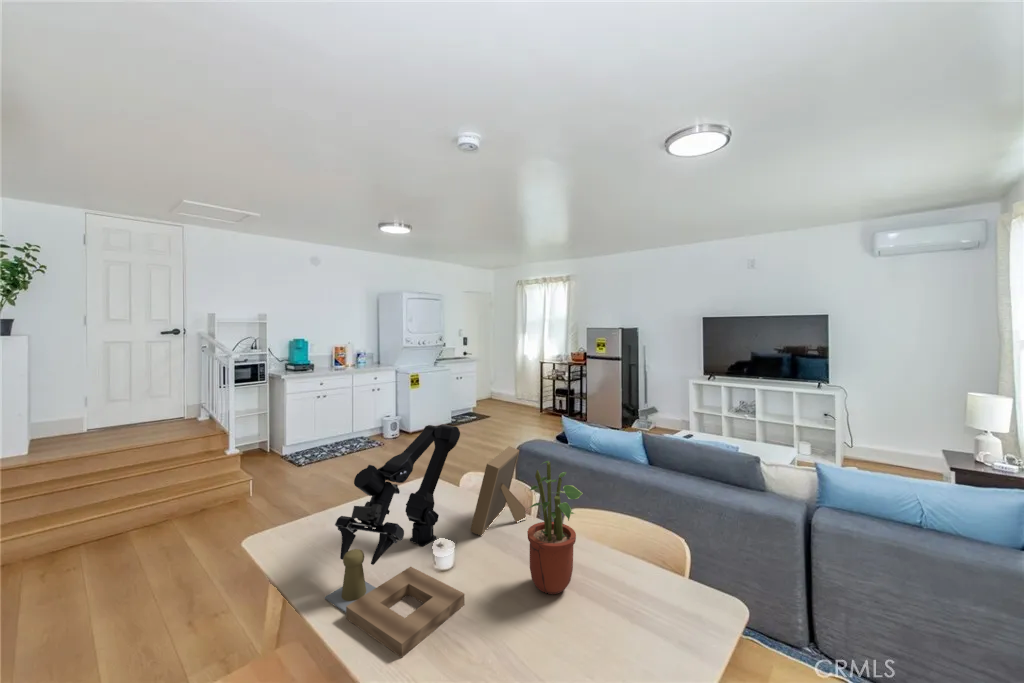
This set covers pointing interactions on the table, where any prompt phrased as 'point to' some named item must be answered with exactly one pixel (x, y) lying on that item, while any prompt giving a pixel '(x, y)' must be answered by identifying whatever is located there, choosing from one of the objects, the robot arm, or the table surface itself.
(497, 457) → the photo frame
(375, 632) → the walnut holder block
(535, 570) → the potted plant
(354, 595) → the olive green pawn
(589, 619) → the table surface
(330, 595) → the grey mat
